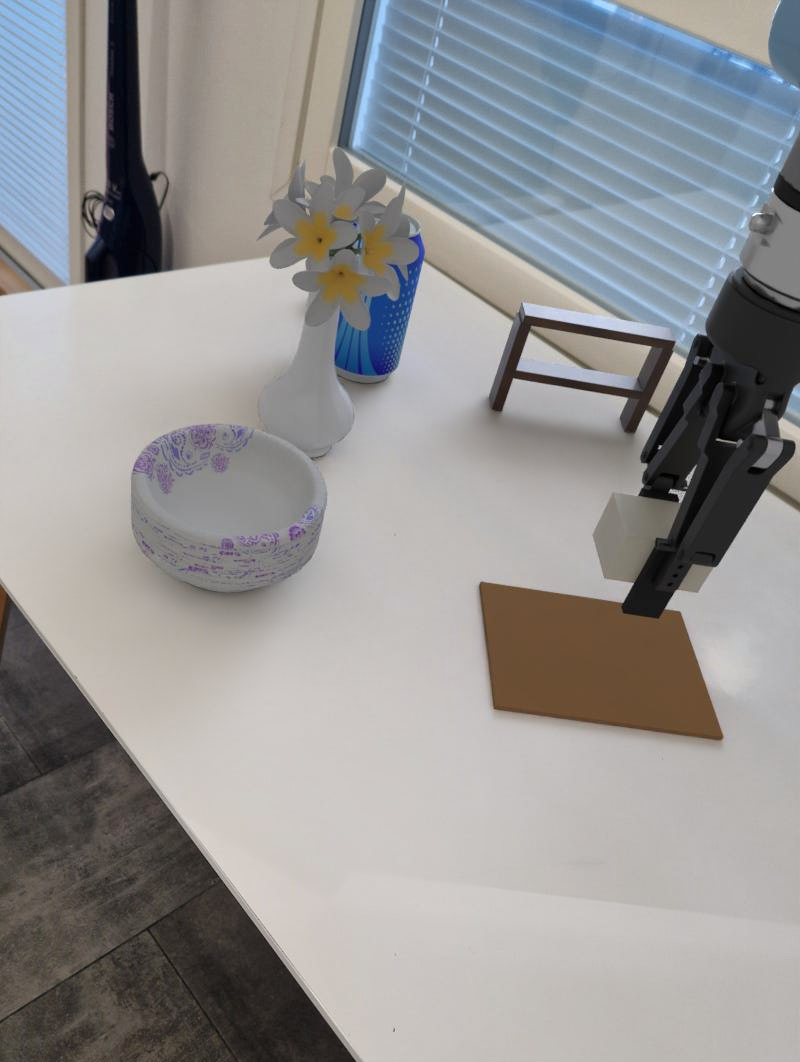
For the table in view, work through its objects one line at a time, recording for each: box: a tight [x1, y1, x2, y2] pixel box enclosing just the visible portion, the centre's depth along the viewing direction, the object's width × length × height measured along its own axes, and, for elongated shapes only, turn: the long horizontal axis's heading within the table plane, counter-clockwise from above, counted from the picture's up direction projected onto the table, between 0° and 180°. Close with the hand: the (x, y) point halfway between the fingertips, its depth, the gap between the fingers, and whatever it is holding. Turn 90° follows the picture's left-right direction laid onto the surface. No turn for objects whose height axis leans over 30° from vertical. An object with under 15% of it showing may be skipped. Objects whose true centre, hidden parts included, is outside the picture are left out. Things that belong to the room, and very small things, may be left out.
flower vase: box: [255, 147, 419, 459], centre depth 79 cm, size 13×18×25 cm
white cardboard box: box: [592, 491, 715, 594], centre depth 64 cm, size 7×5×4 cm
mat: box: [479, 581, 724, 741], centre depth 73 cm, size 18×14×1 cm
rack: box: [488, 301, 677, 434], centre depth 96 cm, size 16×3×11 cm, turn 87°
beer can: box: [335, 212, 426, 384], centre depth 94 cm, size 8×8×16 cm
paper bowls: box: [130, 423, 328, 593], centre depth 72 cm, size 15×15×8 cm
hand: (632, 585), depth 67 cm, fingers closed on white cardboard box, 5 cm apart
